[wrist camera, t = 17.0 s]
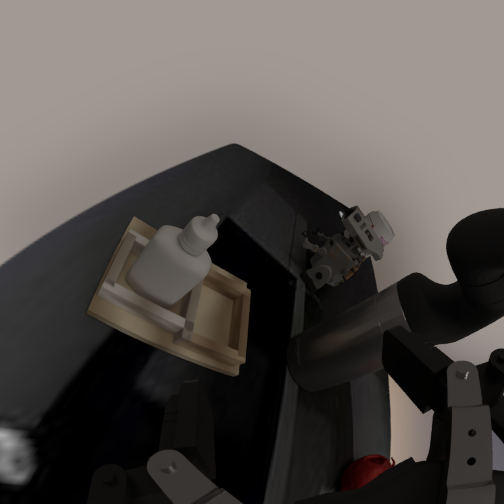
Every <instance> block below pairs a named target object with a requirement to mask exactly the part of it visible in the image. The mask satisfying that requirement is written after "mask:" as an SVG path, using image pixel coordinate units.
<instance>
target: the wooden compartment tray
mask: <svg viewBox="0 0 504 504" xmlns="http://www.w3.org/2000/svg"><path fill="white" fill-rule="evenodd" d="M156 232H157V230H156V229H154V228H152V227H151V226H149V225H147V224H146V223H144V222H142V221H141V220H139V219H138V218H136V217H133V219H132V221H131V222H130V224H129V226H128V228H127V229H126V231H125V233H124V235H123V237H122V239H121V241H120V243H119V244H118V246H117V248H116V250H115V252H114V254H113V256H112V258H111V260H110V262H109V264H108V266H107V268H106V270H105V272H104V275H103V277H102V279H101V281H100V283H99V285H98V288H97V290H96V292H95V294H94V296H93V299H92V301H91V303H90V306H89V308H88V310H87V314H88V315H90V316H92V317H94V318H96V319H98V320H100V321H102V322H103V323H105V324H107V325H109V326H111V327H113V328H115V329H117V330H119V331H121V332H123V333H125V334H128V335H130V336H132V337H134V338H136V339H138V340H140V341H143V342H145V343H147V344H149V345H151V346H154V347H156V348H158V349H161V350H163V351H165V352H168V353H170V354H173V355H175V356H178V357H180V358H183V359H185V360H188V361H190V362H193V363H195V364H198V365H201V366H204V367H206V368H209V369H212V370H215V371H218V372H220V373H223V374H226V375H229V376H232V377H234V376H237V375H238V374H239V365H240V364H243V363H245V358H246V345H247V332H248V319H249V306H250V293H251V291H250V290H249V289H247V288H246V285H247V283H246V282H244V281H242V280H240V279H239V278H237V277H235V276H233V275H232V274H230V273H228V272H226V271H225V270H223V269H221V268H220V267H218V266H216V265H214V264H213V263H211V267H210V270H209V272H208V274H207V275H206V277H205V278H204V279H203V280H202V281H200V282H199V283H198V284H197V285H196V286H195V287H194V288H192V289H191V290H190V291H189V292H188V293H187V294H185V295H184V296H183V297H182V298H181V299H180V300H178V301H177V302H176V303H175V304H174V305H173V306H171V307H170V308H168V309H164V308H162V307H160V306H158V305H156V304H154V303H152V302H150V301H148V300H147V299H145V298H143V297H141V296H139V295H137V294H136V293H135V291H134V290H133V289H132V288H131V286H130V285H129V284H128V282H127V279H126V274H127V272H128V271H129V269H130V268H131V266H132V265H133V263H134V262H135V261H136V259H137V258H138V256H139V255H140V253H141V252H142V251H143V249H144V248H145V247H146V245H147V244H148V242H149V241H150V240H151V239H152V237H153V236H154V235H155V233H156Z"/></svg>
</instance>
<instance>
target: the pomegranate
mask: <svg viewBox="0 0 504 504" xmlns="http://www.w3.org/2000/svg"><path fill="white" fill-rule="evenodd" d="M391 459H392V461H393V464H392V465H391V463H390V461H389V460H388V459H387V458H386V457H384V456H382V455H368V456H364V457H362V458H360V459H358V460H356V461H355V462H353V463H351V464H350V465H349V466H348V467H347V468H346V470H345V471H344V473H343V475H342V478H341V487H340V491H346V490H352V489H358V488H361V487H362V486H364V485H365V484H367V483H368V482H370V481H371V480H373V479H374V478H375V477H377V476H378V475H380V474H381V473H382V472H384V471H385V470H387V469H389V468H391V467H393V466H394V465H395V461H394V460H393V458H391Z"/></svg>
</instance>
